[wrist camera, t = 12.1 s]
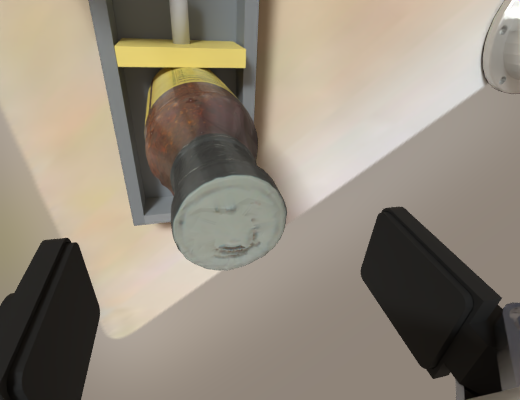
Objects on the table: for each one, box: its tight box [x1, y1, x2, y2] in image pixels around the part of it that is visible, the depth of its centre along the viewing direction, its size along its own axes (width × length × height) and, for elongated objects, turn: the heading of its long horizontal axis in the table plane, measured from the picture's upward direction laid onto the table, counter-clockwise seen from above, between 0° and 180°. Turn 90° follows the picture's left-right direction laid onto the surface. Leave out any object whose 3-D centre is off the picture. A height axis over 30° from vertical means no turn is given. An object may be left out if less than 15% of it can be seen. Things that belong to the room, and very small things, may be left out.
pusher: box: [114, 0, 246, 68], centre depth 22 cm, size 8×5×5 cm, turn 87°
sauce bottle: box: [144, 67, 287, 270], centre depth 19 cm, size 7×6×20 cm
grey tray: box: [88, 0, 259, 226], centre depth 26 cm, size 11×22×4 cm, turn 177°
